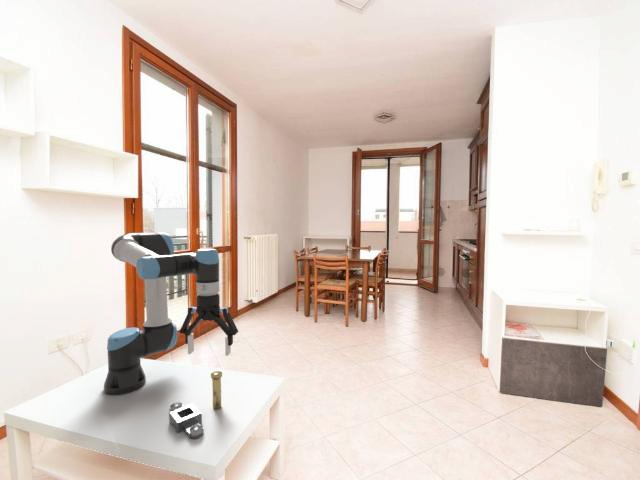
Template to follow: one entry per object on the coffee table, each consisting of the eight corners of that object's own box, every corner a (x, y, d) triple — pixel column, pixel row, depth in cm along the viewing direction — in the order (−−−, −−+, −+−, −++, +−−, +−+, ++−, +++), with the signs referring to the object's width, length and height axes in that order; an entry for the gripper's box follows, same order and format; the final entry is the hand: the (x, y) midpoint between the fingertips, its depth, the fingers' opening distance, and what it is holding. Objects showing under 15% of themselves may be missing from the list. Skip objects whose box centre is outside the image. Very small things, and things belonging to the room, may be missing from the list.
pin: (209, 407, 120) (209, 373, 119) (219, 403, 123) (219, 370, 122) (214, 411, 117) (213, 377, 117) (224, 407, 120) (224, 373, 119)
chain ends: (162, 413, 116) (162, 403, 116) (185, 404, 122) (185, 395, 122) (186, 443, 100) (185, 433, 100) (210, 432, 106) (210, 422, 106)
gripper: (167, 295, 109) (169, 356, 110) (238, 296, 106) (240, 359, 107) (179, 290, 116) (181, 347, 117) (246, 291, 114) (247, 350, 115)
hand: (209, 353), depth 112 cm, fingers open, 13 cm apart
